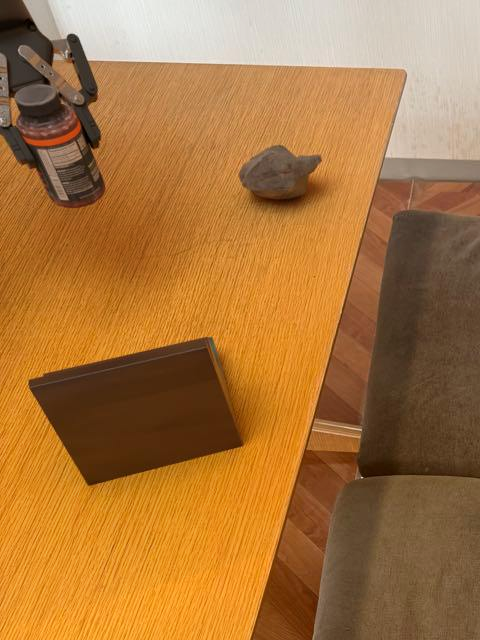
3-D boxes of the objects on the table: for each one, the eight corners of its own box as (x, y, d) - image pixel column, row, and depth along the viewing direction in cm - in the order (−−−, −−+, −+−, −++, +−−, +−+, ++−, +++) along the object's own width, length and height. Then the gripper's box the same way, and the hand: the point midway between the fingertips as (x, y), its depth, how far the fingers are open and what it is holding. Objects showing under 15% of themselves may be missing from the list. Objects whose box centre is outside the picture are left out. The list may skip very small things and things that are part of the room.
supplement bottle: (48, 185, 99) (0, 83, 90) (104, 175, 100) (63, 73, 91) (53, 215, 96) (5, 113, 86) (110, 204, 97) (69, 102, 88)
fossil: (320, 172, 127) (309, 118, 121) (333, 207, 122) (323, 153, 116) (241, 186, 125) (226, 131, 118) (251, 223, 120) (236, 167, 113)
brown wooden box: (75, 389, 101) (20, 288, 89) (219, 356, 104) (183, 255, 93) (88, 485, 93) (28, 388, 81) (243, 445, 96) (207, 347, 85)
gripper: (-112, -12, 82) (-9, 166, 87) (43, -48, 88) (133, 121, 92) (-97, 26, 89) (-2, 190, 93) (46, -10, 95) (130, 147, 99)
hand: (65, 155), depth 93 cm, fingers closed on supplement bottle, 6 cm apart
